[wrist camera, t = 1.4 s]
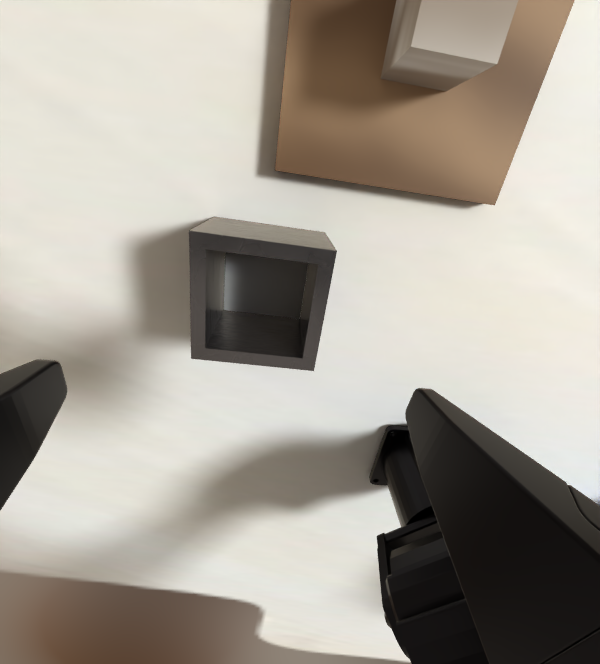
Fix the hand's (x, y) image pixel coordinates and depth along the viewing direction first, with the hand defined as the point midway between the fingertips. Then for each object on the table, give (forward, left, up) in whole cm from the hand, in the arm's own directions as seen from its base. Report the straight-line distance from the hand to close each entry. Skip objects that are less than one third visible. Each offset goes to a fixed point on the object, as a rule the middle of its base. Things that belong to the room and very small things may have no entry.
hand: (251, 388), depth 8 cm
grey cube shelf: (-1, 0, -12) cm, 12 cm away
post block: (+11, -6, -12) cm, 18 cm away
